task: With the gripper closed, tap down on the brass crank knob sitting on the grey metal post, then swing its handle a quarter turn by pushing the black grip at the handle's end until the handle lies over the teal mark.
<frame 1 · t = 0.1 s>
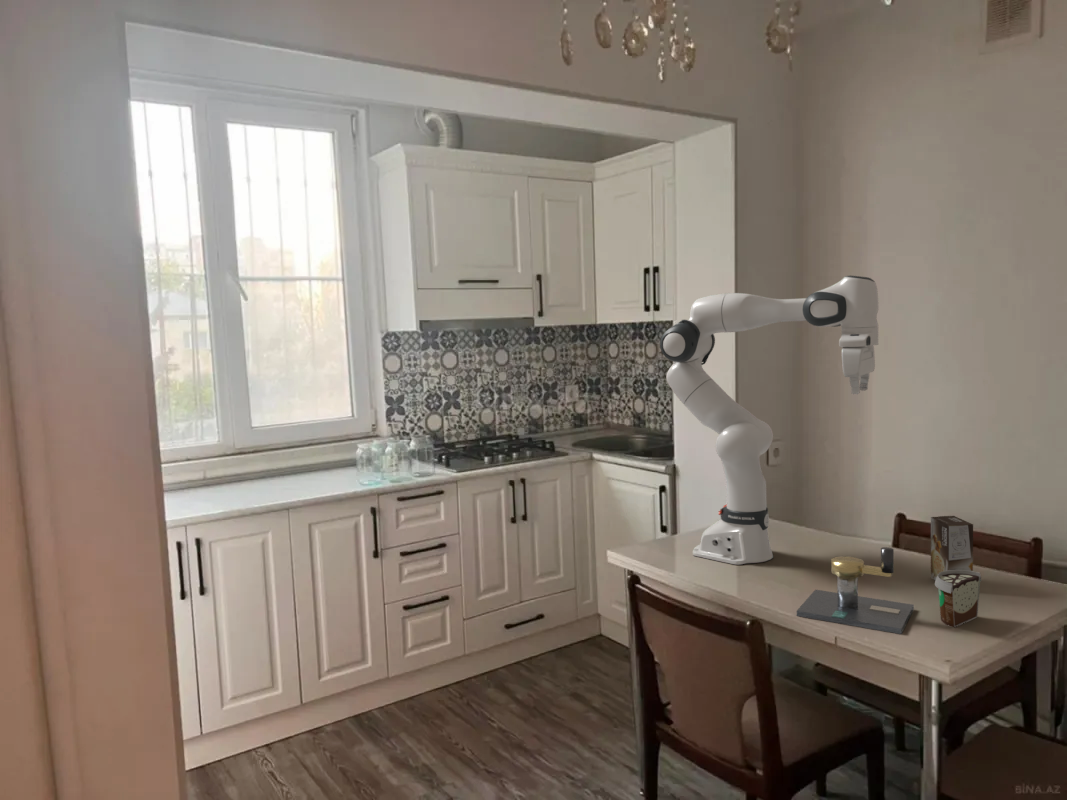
hand: (859, 392, 202), 48 cm above the table, tool pointing down, fingers open, 8 cm apart
coffee box: (951, 583, 196), on the table
brass crank knob: (861, 560, 178), point 12 cm above the table, hinge at 0.0°
food container: (952, 619, 173), on the table
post: (847, 609, 181), on the table
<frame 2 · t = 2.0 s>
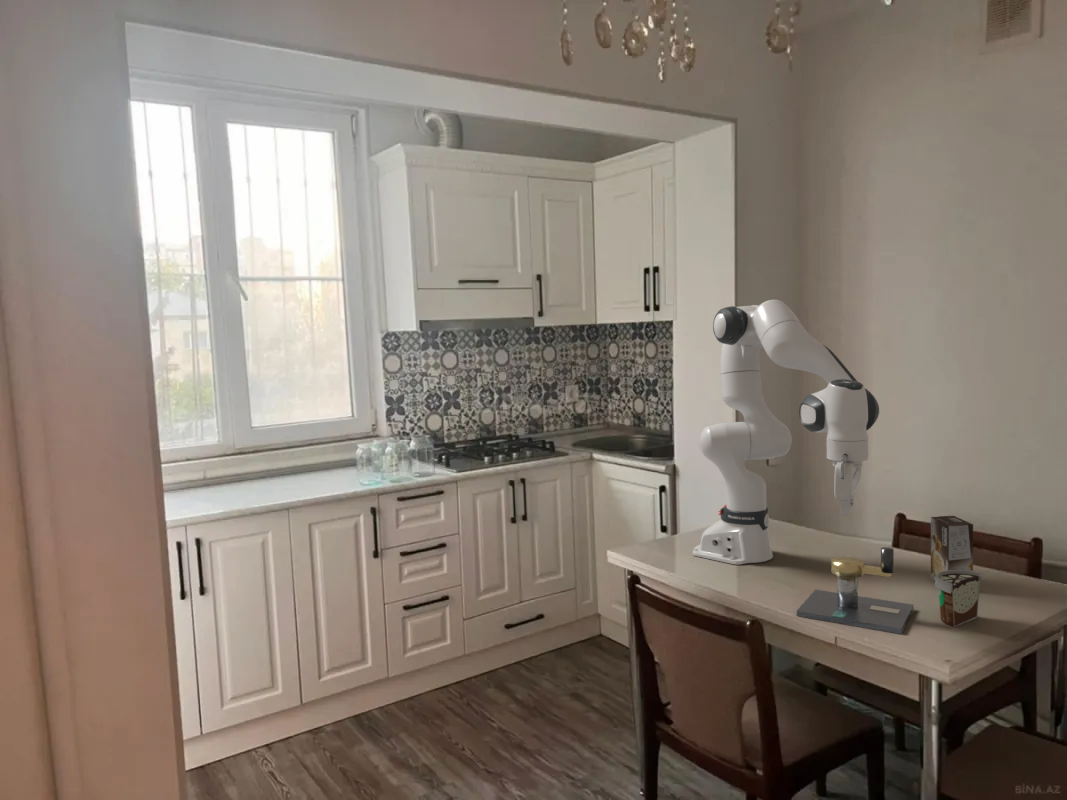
hand: (847, 510, 179), 23 cm above the table, tool pointing down, fingers open, 7 cm apart
nothing on the table moved.
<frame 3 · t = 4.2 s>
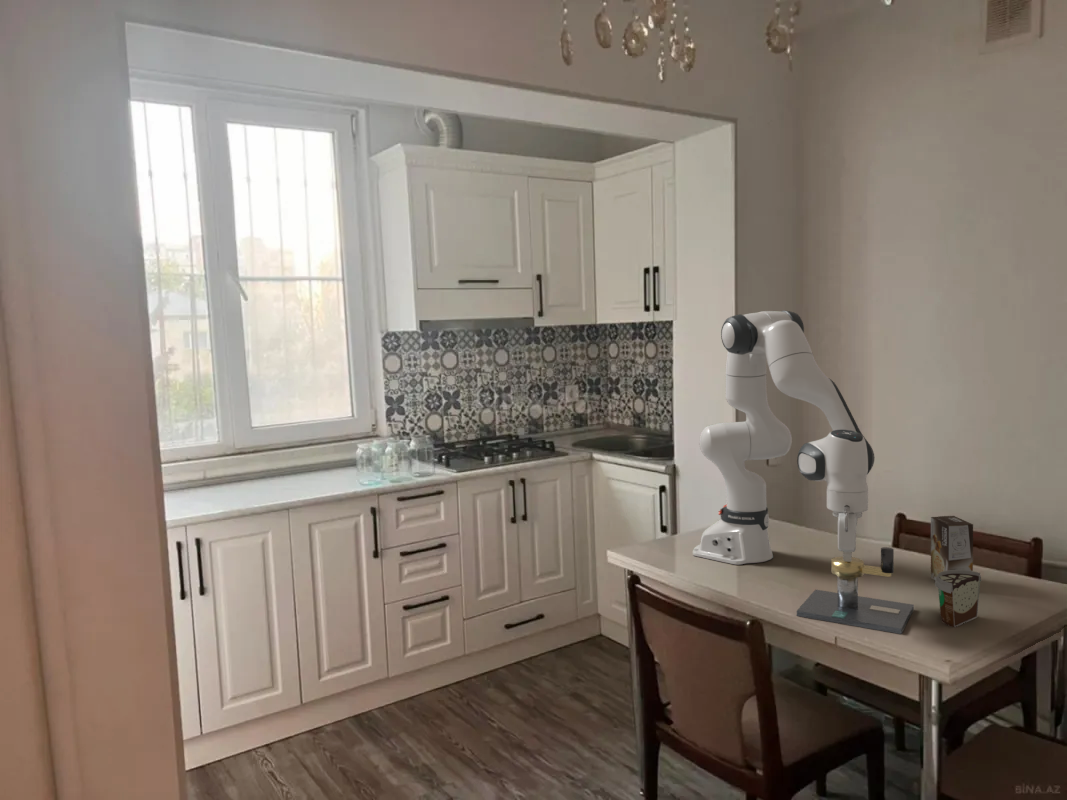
hand: (847, 559, 180), 12 cm above the table, tool pointing down, fingers closed
nothing on the table moved.
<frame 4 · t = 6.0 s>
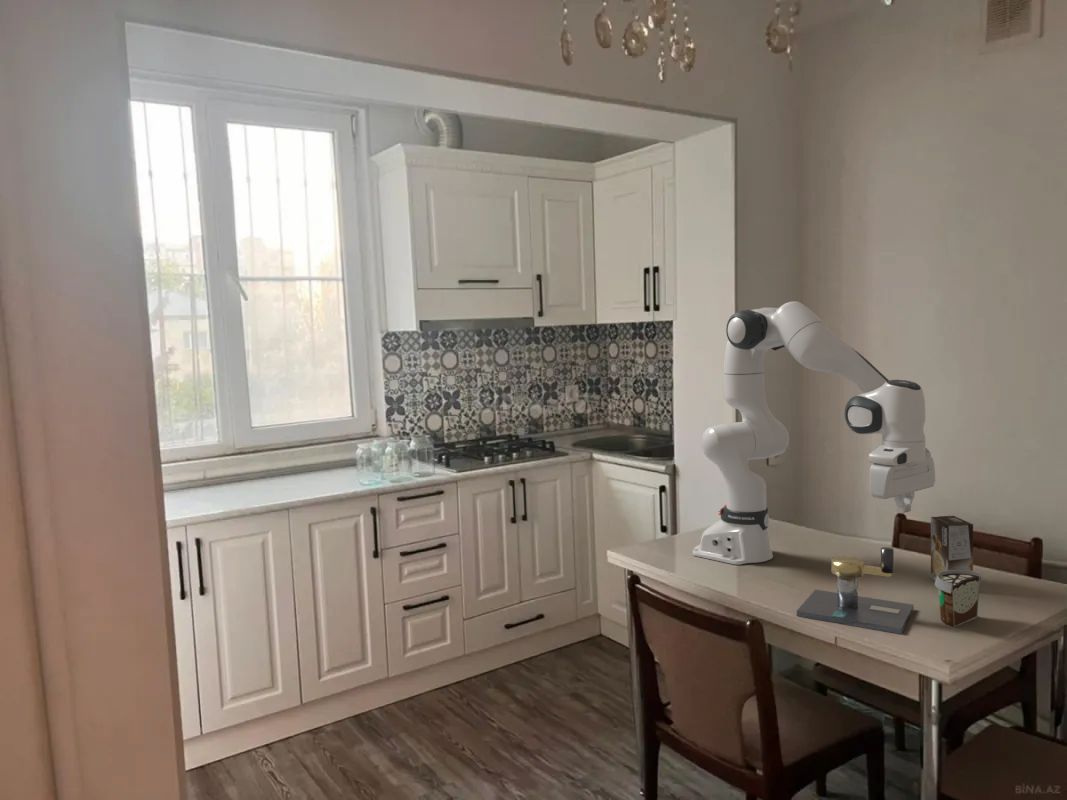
hand: (903, 511, 177), 23 cm above the table, tool pointing down, fingers closed
nothing on the table moved.
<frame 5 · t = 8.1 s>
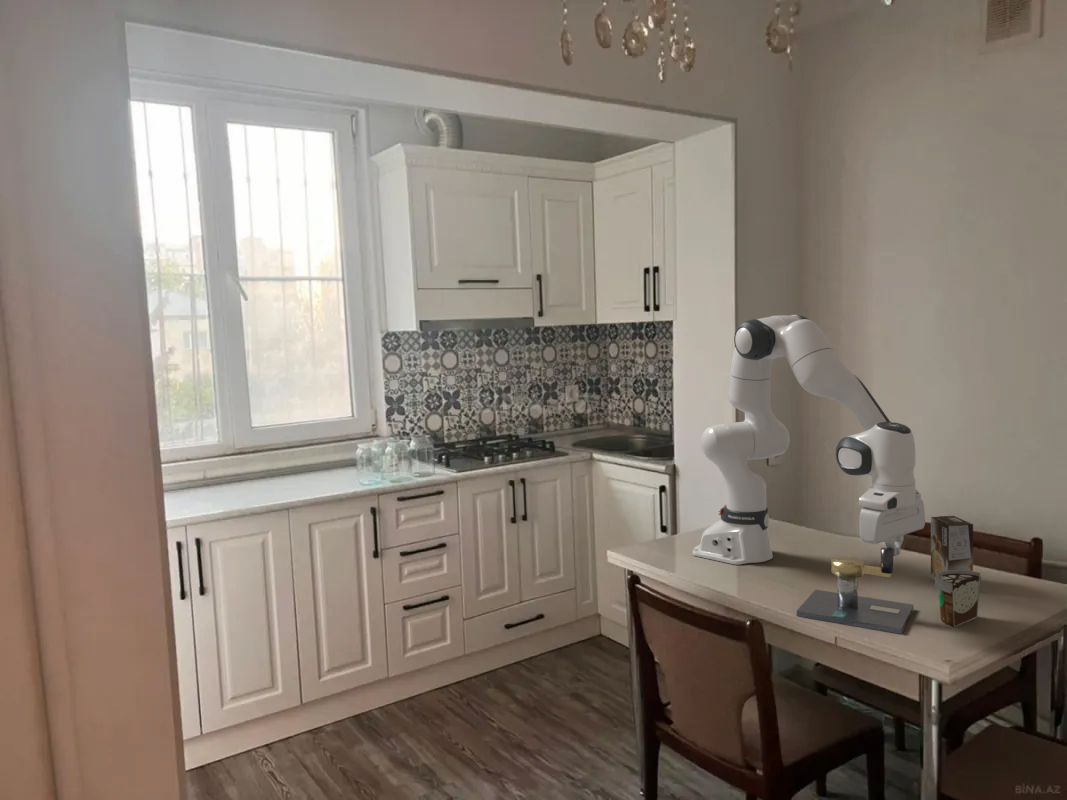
hand: (893, 555, 176), 14 cm above the table, tool pointing down, fingers closed
brass crank knob: (861, 560, 178), point 12 cm above the table, hinge at 1.8°, touching gripper
everything else where it was.
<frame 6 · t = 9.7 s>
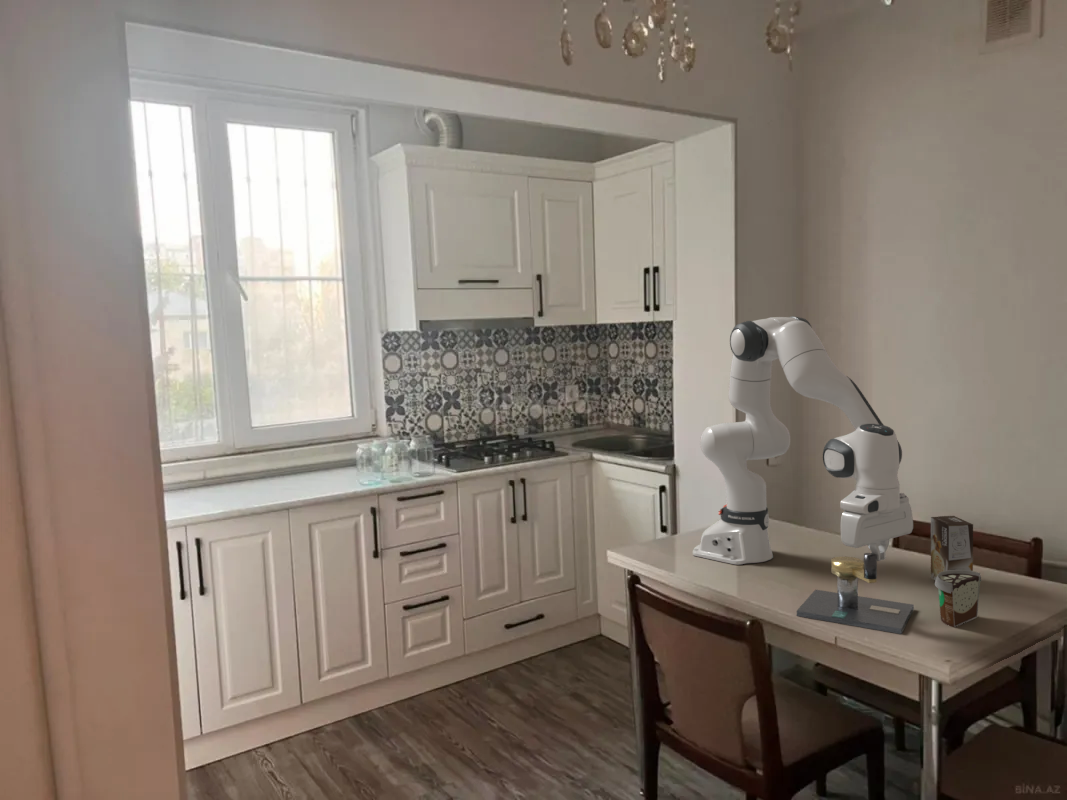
hand: (878, 559, 172), 14 cm above the table, tool pointing down, fingers closed
brass crank knob: (855, 562, 177), point 12 cm above the table, hinge at 44.0°, touching gripper
everything else where it was.
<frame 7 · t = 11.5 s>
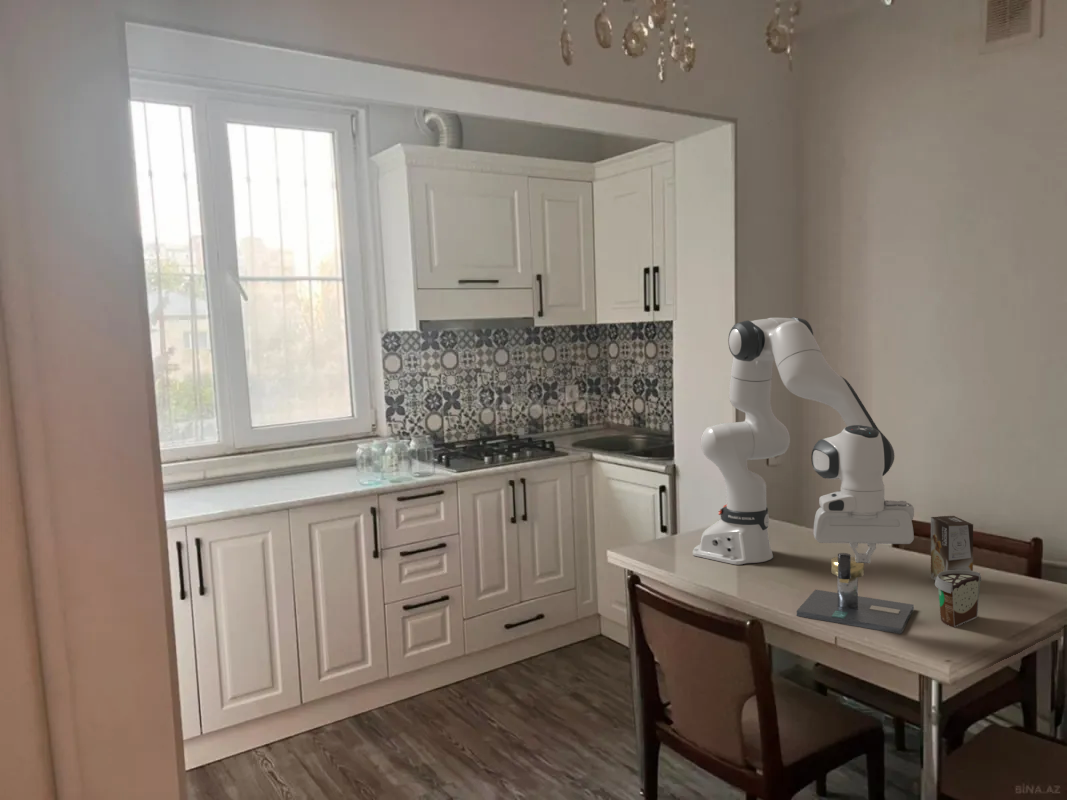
hand: (862, 562, 171), 14 cm above the table, tool pointing down, fingers closed
brass crank knob: (846, 562, 177), point 12 cm above the table, hinge at 81.9°
everything else where it was.
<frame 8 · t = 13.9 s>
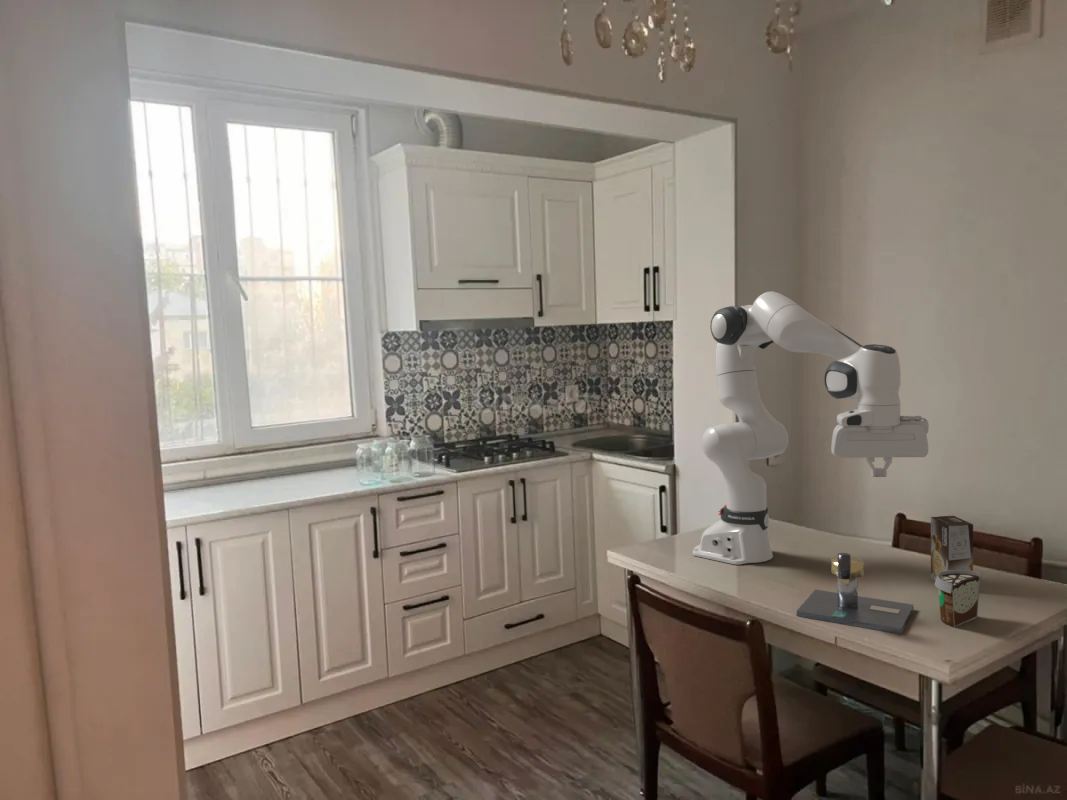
hand: (878, 476, 178), 31 cm above the table, tool pointing down, fingers closed
nothing on the table moved.
at the end: brass crank knob at +82° (first picture: +0°) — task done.
